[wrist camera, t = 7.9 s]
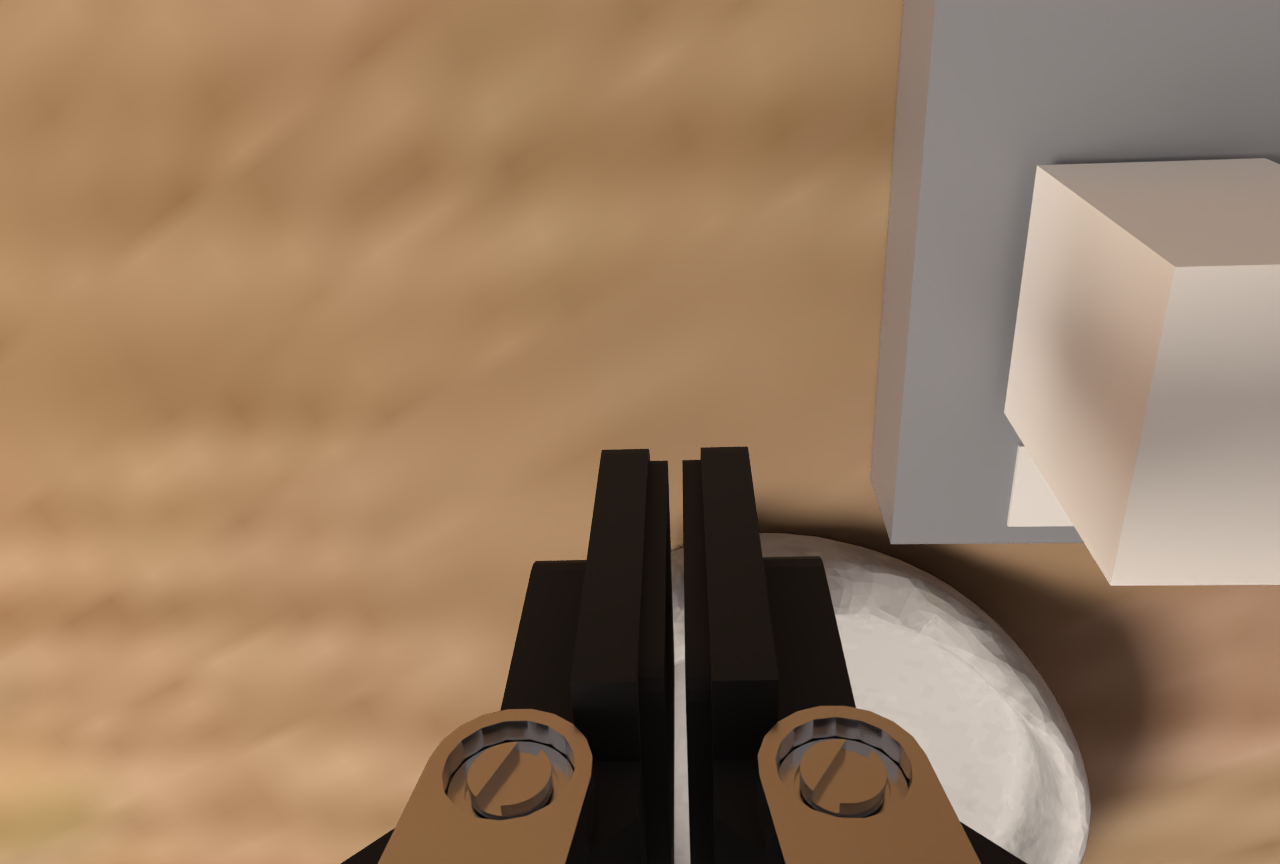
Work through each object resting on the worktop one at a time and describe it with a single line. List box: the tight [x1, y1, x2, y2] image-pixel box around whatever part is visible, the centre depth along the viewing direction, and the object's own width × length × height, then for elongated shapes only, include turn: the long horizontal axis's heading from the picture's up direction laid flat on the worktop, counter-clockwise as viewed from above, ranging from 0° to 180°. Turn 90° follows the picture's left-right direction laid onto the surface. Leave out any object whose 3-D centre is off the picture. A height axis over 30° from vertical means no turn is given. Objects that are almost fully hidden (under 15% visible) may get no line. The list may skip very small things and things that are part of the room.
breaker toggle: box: [1004, 158, 1280, 586], centre depth 17 cm, size 4×5×6 cm
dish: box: [671, 533, 1091, 864], centre depth 27 cm, size 14×14×5 cm
